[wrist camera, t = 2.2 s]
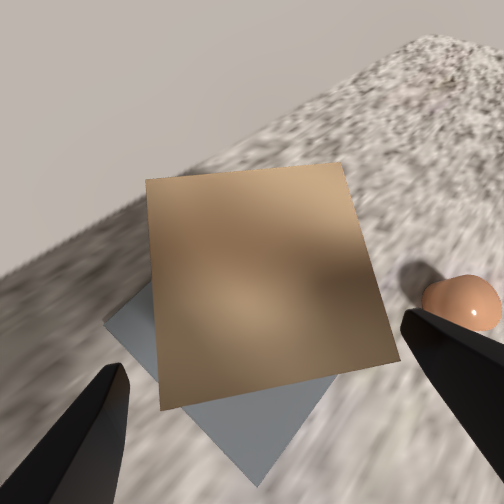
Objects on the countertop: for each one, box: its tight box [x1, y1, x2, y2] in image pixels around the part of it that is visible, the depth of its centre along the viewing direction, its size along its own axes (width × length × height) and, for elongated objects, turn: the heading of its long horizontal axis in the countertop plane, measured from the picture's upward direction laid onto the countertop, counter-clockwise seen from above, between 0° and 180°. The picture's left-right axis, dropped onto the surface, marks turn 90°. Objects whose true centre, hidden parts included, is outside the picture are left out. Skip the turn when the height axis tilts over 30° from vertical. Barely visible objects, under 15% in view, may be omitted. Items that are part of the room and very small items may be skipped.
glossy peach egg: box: [422, 275, 502, 331], centre depth 19 cm, size 4×4×2 cm
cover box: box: [146, 162, 401, 411], centre depth 13 cm, size 7×7×10 cm
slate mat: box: [104, 280, 338, 487], centre depth 18 cm, size 13×12×1 cm
